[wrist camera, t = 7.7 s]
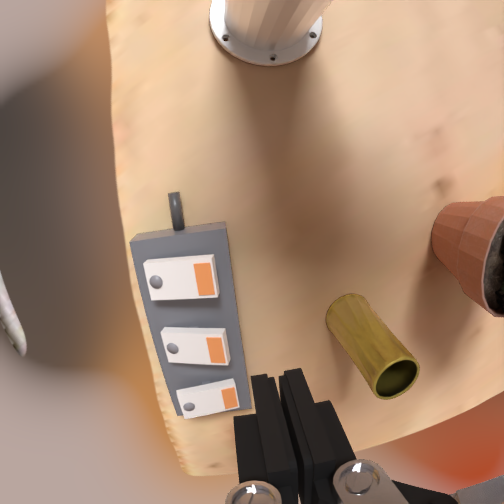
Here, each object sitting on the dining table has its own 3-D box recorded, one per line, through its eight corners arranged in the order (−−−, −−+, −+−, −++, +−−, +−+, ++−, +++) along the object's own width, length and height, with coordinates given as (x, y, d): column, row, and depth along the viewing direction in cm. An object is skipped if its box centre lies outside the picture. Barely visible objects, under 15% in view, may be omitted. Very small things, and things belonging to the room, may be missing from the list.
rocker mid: (164, 327, 35) (159, 333, 33) (225, 328, 33) (222, 335, 32) (172, 356, 36) (168, 362, 35) (230, 358, 35) (227, 366, 33)
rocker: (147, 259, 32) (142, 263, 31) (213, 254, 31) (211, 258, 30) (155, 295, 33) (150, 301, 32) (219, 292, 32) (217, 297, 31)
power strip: (131, 198, 34) (121, 204, 30) (220, 185, 35) (220, 188, 31) (179, 399, 42) (177, 418, 38) (249, 391, 43) (252, 410, 39)
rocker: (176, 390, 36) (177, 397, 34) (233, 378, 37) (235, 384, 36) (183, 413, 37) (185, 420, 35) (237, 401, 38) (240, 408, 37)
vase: (375, 315, 41) (430, 375, 28) (340, 343, 42) (382, 412, 28) (355, 284, 40) (412, 341, 26) (316, 313, 40) (358, 383, 27)
